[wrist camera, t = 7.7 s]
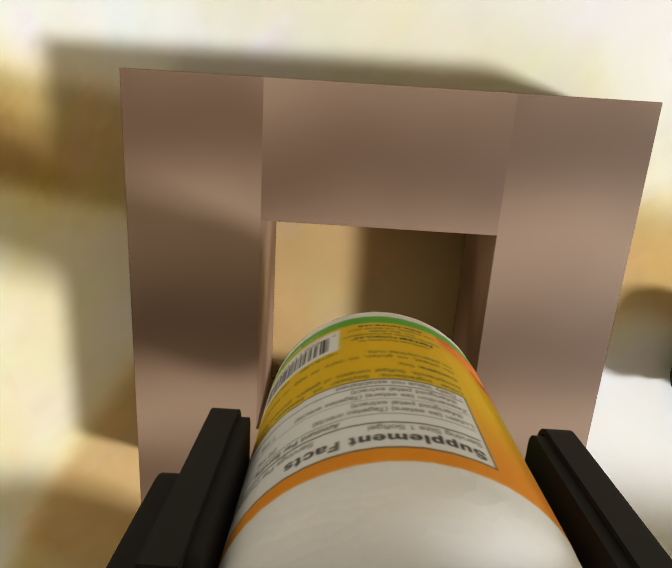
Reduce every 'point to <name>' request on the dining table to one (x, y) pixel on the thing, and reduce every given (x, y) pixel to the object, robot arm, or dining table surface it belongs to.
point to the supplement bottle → (387, 461)
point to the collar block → (377, 212)
